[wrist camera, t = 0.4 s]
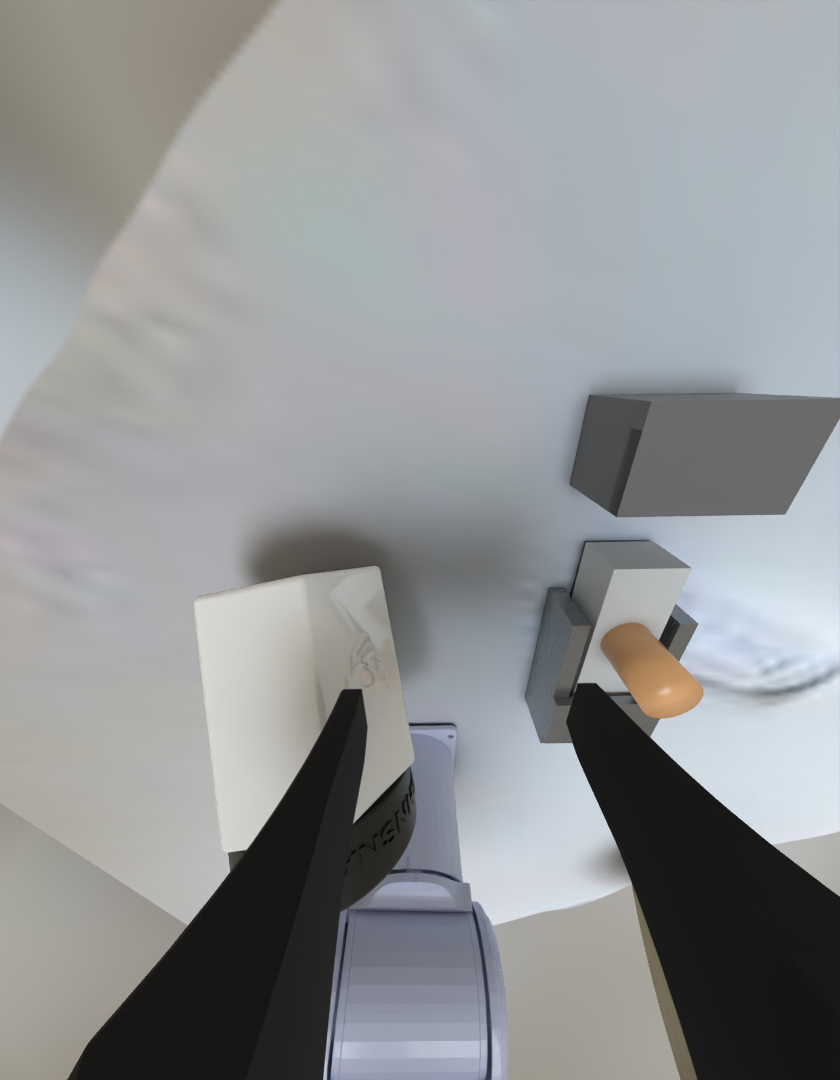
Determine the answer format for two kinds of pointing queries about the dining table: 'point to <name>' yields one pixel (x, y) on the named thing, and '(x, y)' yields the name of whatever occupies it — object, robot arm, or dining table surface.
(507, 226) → the dining table surface
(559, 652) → the sleeve
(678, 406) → the dark gray rectangular block
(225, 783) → the jar
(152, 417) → the dining table surface
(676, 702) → the slab with tan knob
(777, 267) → the dining table surface
